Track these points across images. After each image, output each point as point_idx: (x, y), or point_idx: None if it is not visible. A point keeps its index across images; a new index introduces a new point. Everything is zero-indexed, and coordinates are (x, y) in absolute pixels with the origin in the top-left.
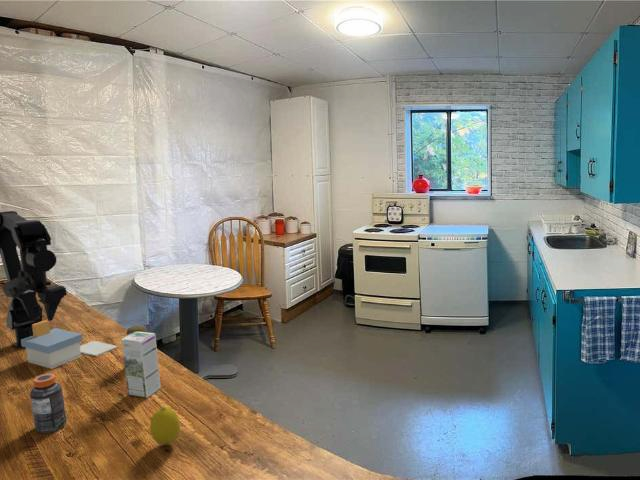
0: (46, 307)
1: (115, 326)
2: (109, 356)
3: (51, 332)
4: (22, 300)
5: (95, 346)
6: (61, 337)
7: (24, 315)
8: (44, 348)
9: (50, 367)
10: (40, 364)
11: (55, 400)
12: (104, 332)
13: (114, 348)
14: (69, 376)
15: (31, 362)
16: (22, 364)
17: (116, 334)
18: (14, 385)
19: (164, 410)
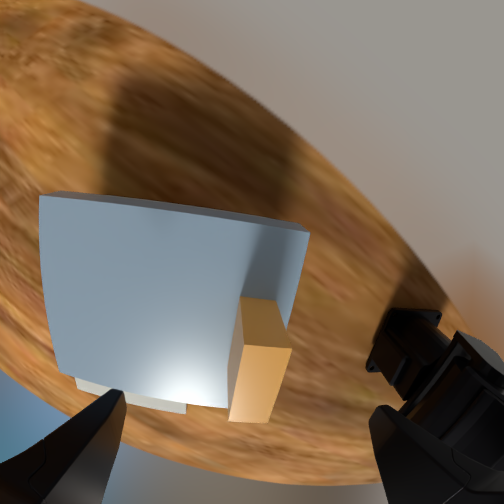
0: (23, 466)
1: (231, 473)
2: (39, 330)
3: (222, 369)
4: (469, 486)
5: None
6: (93, 324)
7: (444, 403)
8: (72, 196)
9: (109, 195)
10: (174, 203)
11: None
12: (224, 452)
13: (76, 378)
14: (16, 175)
15: (241, 213)
16: (270, 191)
17: (175, 448)
18: (126, 49)
19: None
